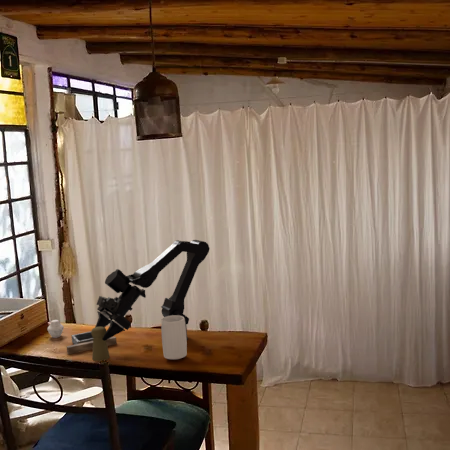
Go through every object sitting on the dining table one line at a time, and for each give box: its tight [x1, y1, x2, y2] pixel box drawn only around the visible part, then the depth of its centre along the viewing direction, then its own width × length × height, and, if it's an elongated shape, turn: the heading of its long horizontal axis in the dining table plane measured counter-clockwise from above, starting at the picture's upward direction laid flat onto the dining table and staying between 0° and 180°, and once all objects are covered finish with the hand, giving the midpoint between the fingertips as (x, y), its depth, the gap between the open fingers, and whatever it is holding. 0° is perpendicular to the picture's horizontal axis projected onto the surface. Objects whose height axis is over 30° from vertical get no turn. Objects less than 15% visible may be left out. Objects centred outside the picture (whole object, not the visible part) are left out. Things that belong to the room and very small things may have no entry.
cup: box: [160, 315, 188, 360], centre depth 190 cm, size 8×8×14 cm
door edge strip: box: [66, 335, 117, 355], centre depth 205 cm, size 18×2×2 cm, turn 119°
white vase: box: [47, 319, 64, 339], centre depth 220 cm, size 6×6×7 cm
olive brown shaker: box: [91, 326, 111, 362], centre depth 194 cm, size 6×6×11 cm
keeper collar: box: [71, 330, 93, 345], centre depth 211 cm, size 9×9×3 cm
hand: (98, 336), depth 194 cm, fingers open, 9 cm apart
